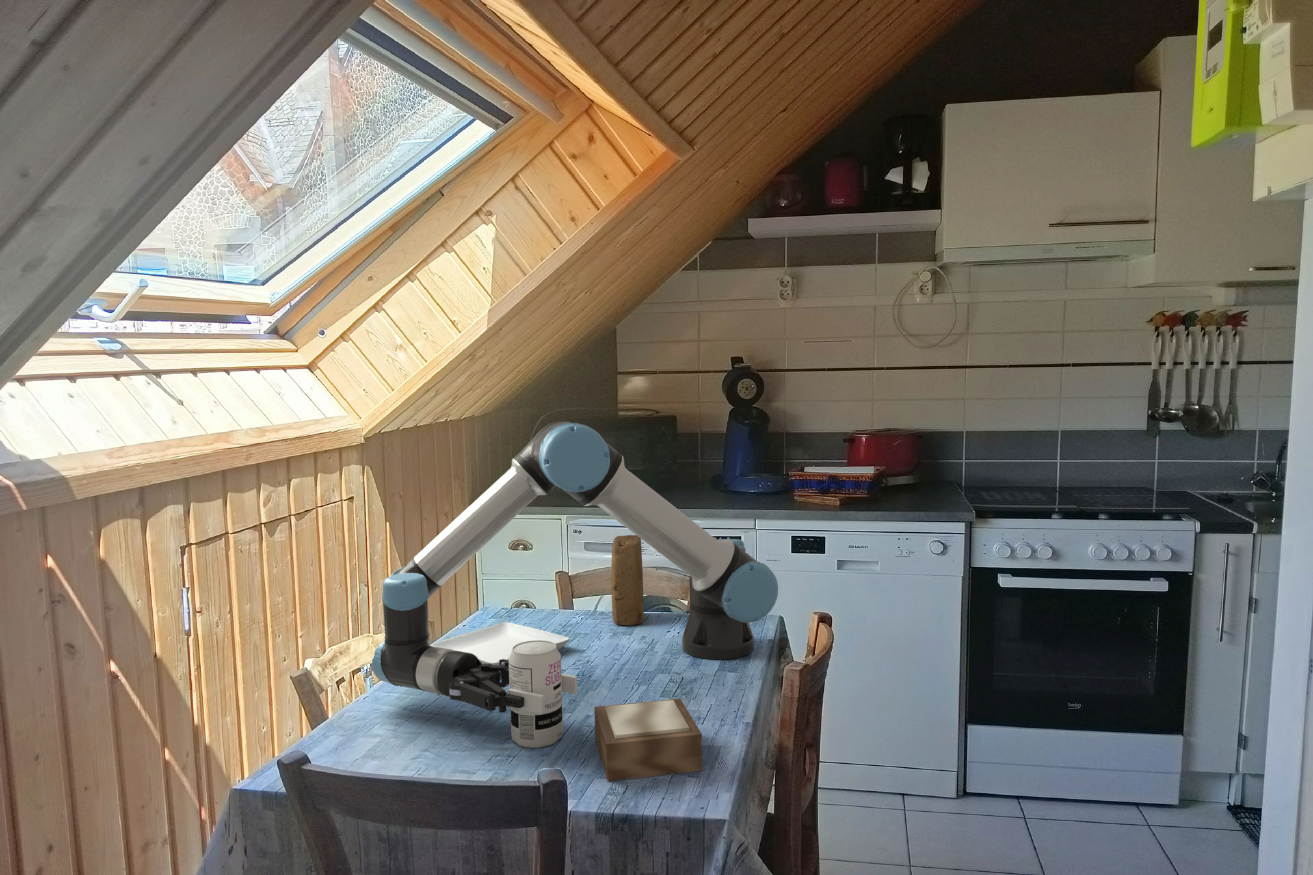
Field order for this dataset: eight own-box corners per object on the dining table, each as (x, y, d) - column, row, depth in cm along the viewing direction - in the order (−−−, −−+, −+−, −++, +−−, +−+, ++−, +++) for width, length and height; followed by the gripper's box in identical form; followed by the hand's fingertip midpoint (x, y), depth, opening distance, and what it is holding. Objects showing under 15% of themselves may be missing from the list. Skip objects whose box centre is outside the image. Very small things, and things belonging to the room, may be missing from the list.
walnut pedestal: (681, 731, 138) (680, 695, 138) (702, 770, 125) (701, 730, 124) (595, 740, 136) (594, 703, 135) (607, 781, 122) (606, 740, 121)
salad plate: (506, 634, 194) (505, 619, 193) (572, 652, 180) (572, 636, 180) (428, 659, 177) (427, 643, 177) (494, 681, 164) (494, 663, 164)
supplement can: (512, 729, 140) (509, 640, 139) (563, 726, 141) (560, 637, 140) (509, 751, 132) (506, 656, 131) (563, 747, 133) (560, 653, 132)
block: (643, 627, 196) (641, 541, 194) (611, 627, 196) (609, 541, 194) (645, 613, 207) (643, 532, 205) (614, 614, 207) (612, 532, 205)
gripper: (491, 674, 154) (597, 695, 143) (405, 716, 136) (519, 743, 125) (489, 634, 154) (595, 651, 143) (403, 670, 135) (517, 693, 124)
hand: (560, 694), depth 134 cm, fingers closed on supplement can, 8 cm apart
